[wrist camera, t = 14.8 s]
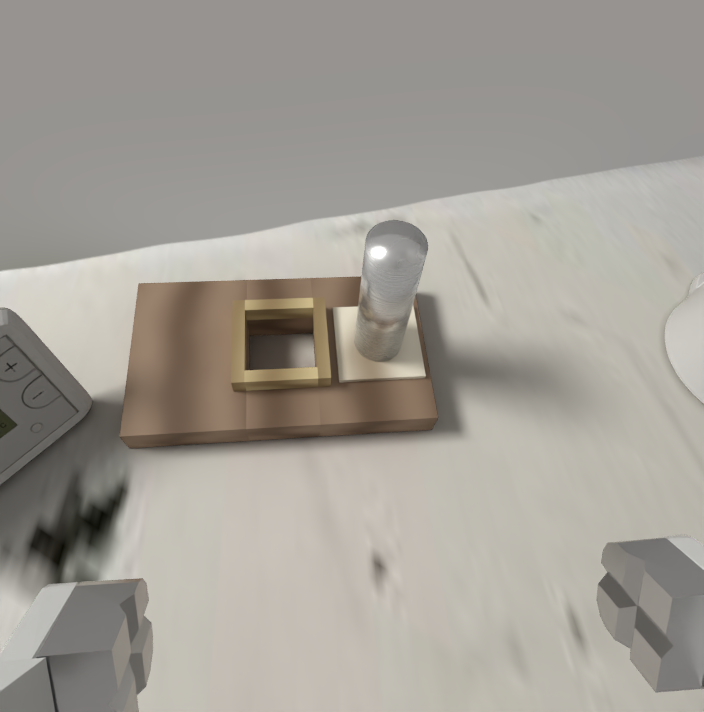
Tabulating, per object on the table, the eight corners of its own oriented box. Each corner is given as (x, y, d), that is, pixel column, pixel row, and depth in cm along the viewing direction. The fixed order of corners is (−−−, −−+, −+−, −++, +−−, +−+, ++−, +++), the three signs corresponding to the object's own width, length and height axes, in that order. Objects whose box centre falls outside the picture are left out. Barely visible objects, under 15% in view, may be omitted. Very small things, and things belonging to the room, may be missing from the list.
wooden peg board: (407, 291, 51) (415, 264, 48) (431, 429, 44) (442, 409, 41) (146, 300, 49) (133, 272, 45) (129, 448, 42) (113, 428, 39)
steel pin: (398, 319, 46) (422, 219, 36) (405, 360, 44) (432, 267, 34) (351, 321, 46) (362, 221, 35) (356, 363, 44) (369, 269, 33)
